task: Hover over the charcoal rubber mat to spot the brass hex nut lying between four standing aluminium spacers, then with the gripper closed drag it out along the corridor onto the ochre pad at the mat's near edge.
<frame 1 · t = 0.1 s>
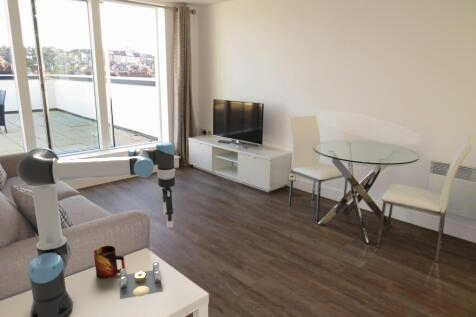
hand: (168, 220, 158), 28 cm above the table, fingers open, 13 cm apart
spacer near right: (157, 281, 159), resting on mat
spacer far right: (156, 273, 165), resting on mat
mat: (140, 283, 157), on the table
mug: (111, 272, 165), on the table, touching mat
spacer far left: (123, 278, 161), resting on mat
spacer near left: (123, 287, 154), resting on mat
nut: (140, 279, 160), resting on mat
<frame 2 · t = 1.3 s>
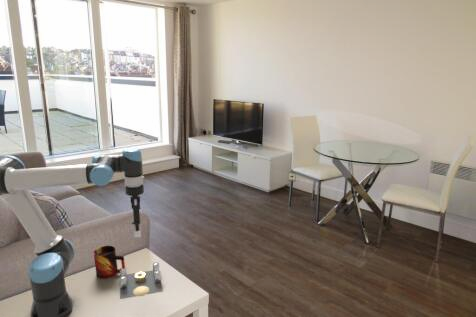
hand: (137, 230, 152), 27 cm above the table, fingers open, 13 cm apart
nothing on the table moved.
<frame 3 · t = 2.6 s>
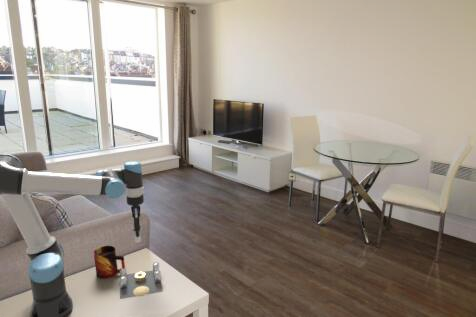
hand: (137, 241, 162), 16 cm above the table, fingers closed
nothing on the table moved.
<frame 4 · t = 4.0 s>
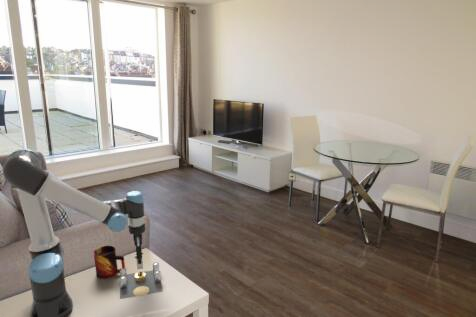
hand: (140, 268, 166), 2 cm above the table, fingers closed
nothing on the table moved.
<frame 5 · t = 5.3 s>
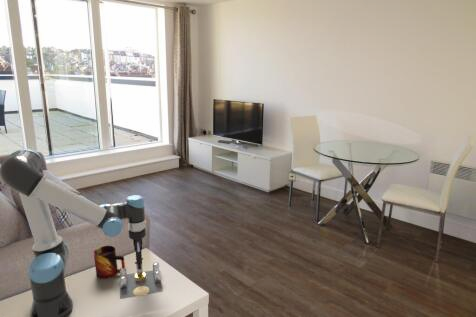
hand: (139, 273, 163), 1 cm above the table, fingers closed
nut: (140, 279, 160), resting on mat, touching gripper
everything else where it was.
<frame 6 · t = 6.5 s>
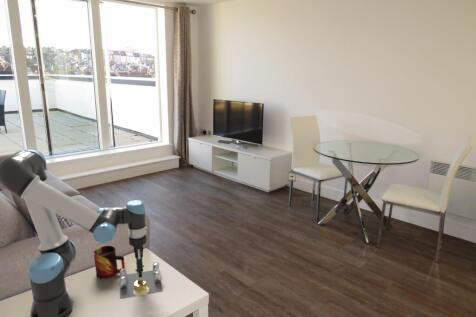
hand: (140, 281, 157), 1 cm above the table, fingers closed
nut: (140, 287, 154), resting on mat, touching gripper
everything else where it was.
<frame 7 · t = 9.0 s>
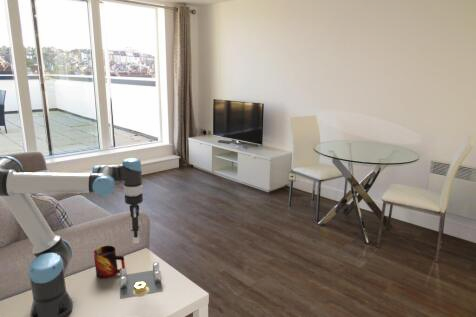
hand: (136, 242, 155), 20 cm above the table, fingers closed
nut: (140, 289, 153), resting on mat
everything else where it was.
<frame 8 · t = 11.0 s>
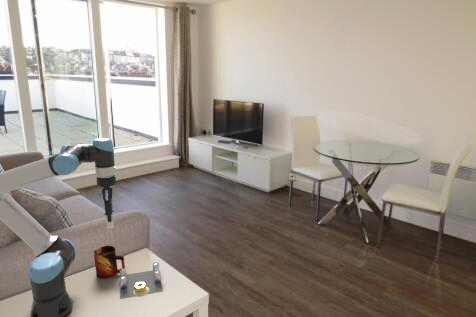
hand: (110, 227, 148), 29 cm above the table, fingers closed
nothing on the table moved.
at the end: nut inside the target area (1.4 cm from its centre), resting on mat; nut moved 7.9 cm from its start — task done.
